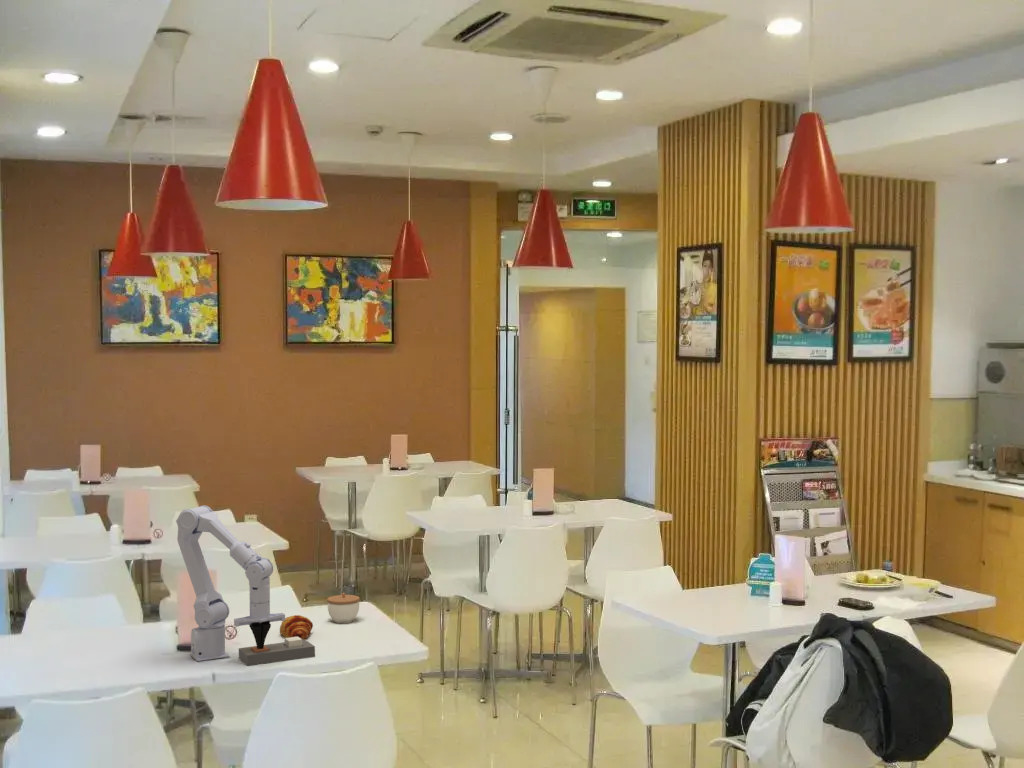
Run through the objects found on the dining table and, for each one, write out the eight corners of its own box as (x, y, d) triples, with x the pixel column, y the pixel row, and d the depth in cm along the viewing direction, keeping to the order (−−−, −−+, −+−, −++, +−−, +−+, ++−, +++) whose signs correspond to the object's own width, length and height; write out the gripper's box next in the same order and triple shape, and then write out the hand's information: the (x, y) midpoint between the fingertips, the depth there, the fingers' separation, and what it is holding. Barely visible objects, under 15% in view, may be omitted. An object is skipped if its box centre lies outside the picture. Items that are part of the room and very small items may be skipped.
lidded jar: (325, 618, 361) (325, 591, 361) (356, 616, 365) (356, 588, 364) (329, 625, 351) (329, 597, 351) (362, 623, 354) (362, 595, 354)
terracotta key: (255, 660, 308) (255, 650, 308) (251, 657, 311) (251, 647, 311) (268, 658, 310) (268, 648, 310) (264, 655, 313) (264, 645, 313)
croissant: (282, 638, 349) (271, 618, 348) (310, 622, 352) (298, 601, 351) (292, 653, 329) (279, 631, 328) (321, 635, 332) (308, 614, 331)
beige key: (289, 651, 313) (288, 641, 313) (284, 648, 316) (284, 638, 316) (302, 649, 315) (302, 639, 315) (297, 646, 318) (297, 636, 318)
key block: (247, 665, 304) (247, 655, 304) (238, 658, 312) (238, 648, 312) (314, 656, 314) (314, 646, 314) (304, 649, 322) (304, 639, 322)
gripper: (238, 606, 303) (238, 654, 303) (288, 601, 310) (288, 647, 311) (231, 602, 309) (232, 649, 309) (280, 596, 316) (281, 642, 317)
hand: (260, 648), depth 310 cm, fingers closed, pressing on terracotta key
